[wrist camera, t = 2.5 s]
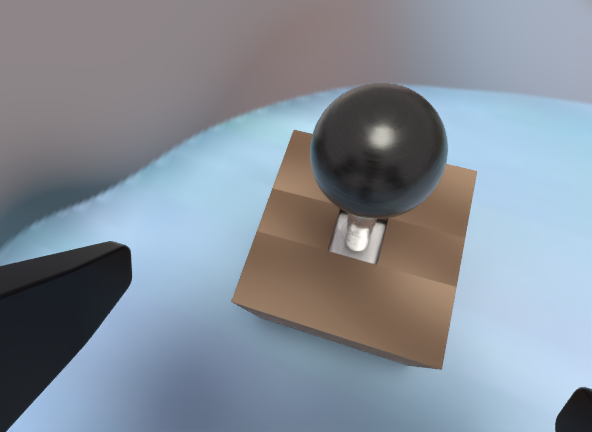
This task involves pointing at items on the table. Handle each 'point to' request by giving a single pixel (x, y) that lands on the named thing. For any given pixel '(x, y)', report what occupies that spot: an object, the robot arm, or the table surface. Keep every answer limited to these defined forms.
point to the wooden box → (358, 267)
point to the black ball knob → (376, 161)
